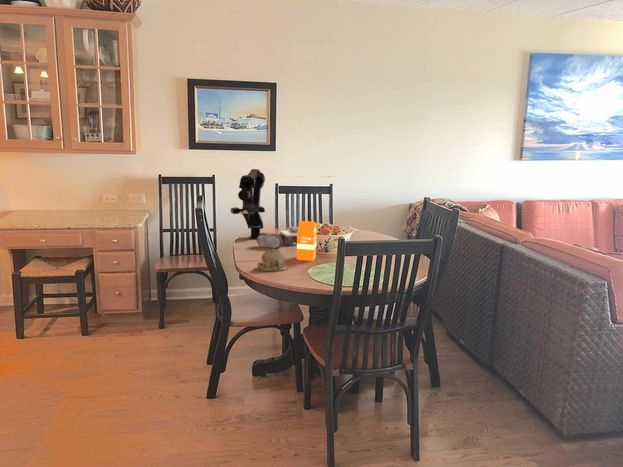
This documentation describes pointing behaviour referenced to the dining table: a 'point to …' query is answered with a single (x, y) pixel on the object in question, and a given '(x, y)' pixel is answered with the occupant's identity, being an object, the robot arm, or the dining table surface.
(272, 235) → the tin
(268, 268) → the ceramic model
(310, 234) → the orange juice
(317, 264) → the dining table surface
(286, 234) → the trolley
